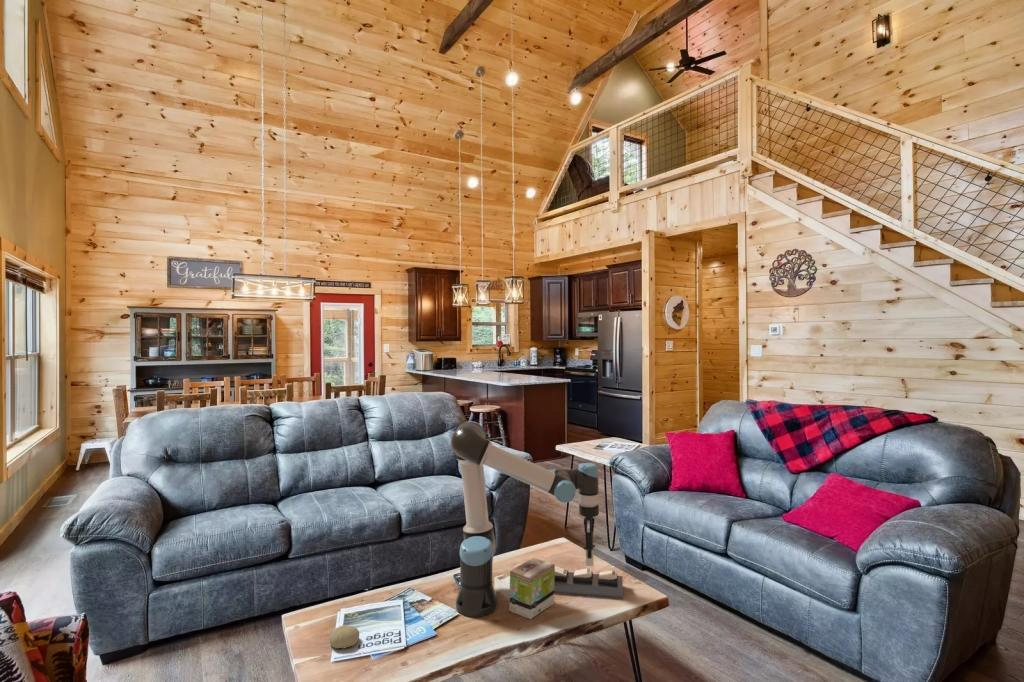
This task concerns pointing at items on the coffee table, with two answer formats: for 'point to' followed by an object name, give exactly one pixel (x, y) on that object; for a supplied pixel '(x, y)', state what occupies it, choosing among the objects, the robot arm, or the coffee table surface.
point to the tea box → (532, 587)
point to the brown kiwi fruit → (344, 636)
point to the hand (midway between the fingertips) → (589, 565)
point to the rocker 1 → (560, 571)
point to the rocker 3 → (608, 575)
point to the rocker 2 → (583, 573)
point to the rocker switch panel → (589, 586)
